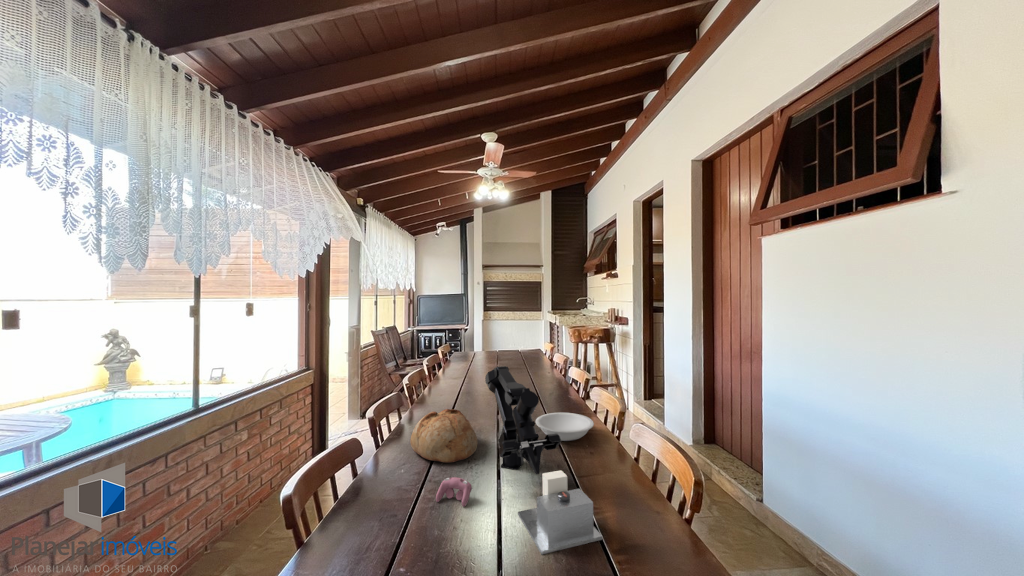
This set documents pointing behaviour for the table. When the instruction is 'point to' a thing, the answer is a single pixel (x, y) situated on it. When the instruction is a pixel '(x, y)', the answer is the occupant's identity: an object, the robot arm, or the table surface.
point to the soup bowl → (565, 425)
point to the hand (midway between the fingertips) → (537, 473)
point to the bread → (444, 437)
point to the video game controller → (457, 484)
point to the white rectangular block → (554, 482)
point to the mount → (561, 521)
